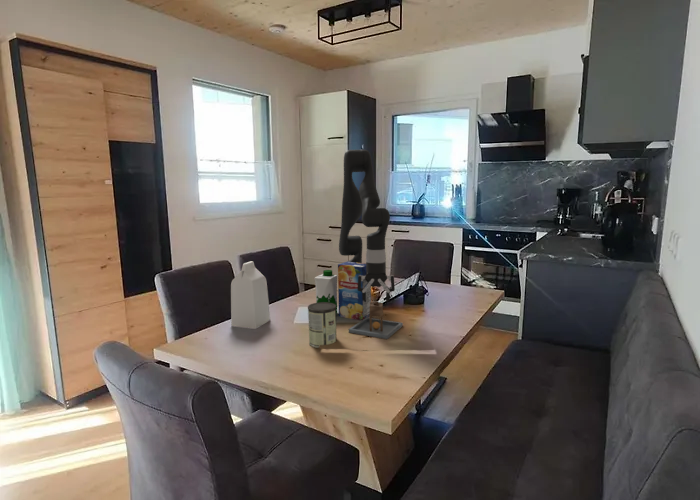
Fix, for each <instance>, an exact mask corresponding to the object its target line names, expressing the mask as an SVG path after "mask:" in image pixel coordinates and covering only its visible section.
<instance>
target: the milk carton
mask: <svg viewBox="0 0 700 500" xmlns="http://www.w3.org/2000/svg"><path fill="white" fill-rule="evenodd" d="M313 279H314V285H315V303H319V302H328V303H333V304H335V305H336V314H338V274H333V269H325V270H323V273H322V274H319V275H317V276H315V277H314V278H313Z"/></svg>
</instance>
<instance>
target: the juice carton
mask: <svg viewBox="0 0 700 500" xmlns="http://www.w3.org/2000/svg"><path fill="white" fill-rule="evenodd" d="M359 275H361V276H366V262H365V263H364V262H362V263H356V262H347V261H344V262H342V263H338V264H337V301H338V317H340V318H346V319H352V320H357V321H362V320H363V319H365V318H366V317H368V318H370V303H372V292H371V291H372V286H370V287H369V288H368V289H367V290H366V302H364V301H363V300H362V292H361V291H358V276H359ZM366 284H367V281H366V279H363V281H361V288H364V287H365V285H366Z"/></svg>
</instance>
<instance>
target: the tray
mask: <svg viewBox="0 0 700 500" xmlns="http://www.w3.org/2000/svg"><path fill="white" fill-rule="evenodd" d="M374 322H379V324H380V319H379V318H373V317H372V324H373V323H374ZM403 326H404V325H403V322H400V321H395V320H389V319H388V320H385V319H383V331H381V328H380V327H379V329H374V328H373V326H372V331H370V317H366V318H365V319H363V320H359V322H358V323H355V324H354V325H353V326H351V327H350V328H348V333H350V334H353V335H354V334H356V335H362V336H367V337H373V338H377V339H378V338H379V339H384V340H388V339H390V338H391V336H393V335H394V334H395V333H397V331H399V329H401V328H402V327H403Z"/></svg>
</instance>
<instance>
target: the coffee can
mask: <svg viewBox="0 0 700 500" xmlns="http://www.w3.org/2000/svg"><path fill="white" fill-rule="evenodd" d="M307 312H308V313H307V315H308V316H307V317H308V344H309V346H311V347H313V348H317V349H320V346H328V345H331V344H334V343H335V342H337V313H336V305H335V304H333V303H328V302H319V303H316V302H314V303H311V304H309V305H308V306H307Z"/></svg>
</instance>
